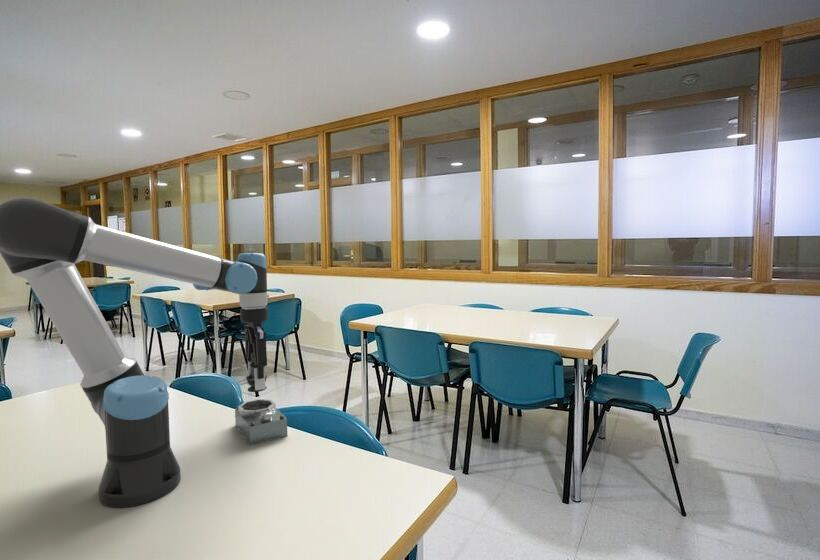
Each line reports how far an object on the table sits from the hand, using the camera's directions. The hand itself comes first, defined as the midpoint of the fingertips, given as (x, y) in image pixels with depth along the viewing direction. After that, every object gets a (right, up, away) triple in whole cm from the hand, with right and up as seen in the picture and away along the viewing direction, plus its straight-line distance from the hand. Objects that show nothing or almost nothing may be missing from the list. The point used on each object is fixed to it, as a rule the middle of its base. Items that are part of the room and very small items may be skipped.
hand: (256, 386), depth 126 cm
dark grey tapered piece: (0, -1, 0) cm, 1 cm away
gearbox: (+2, -12, -2) cm, 13 cm away
